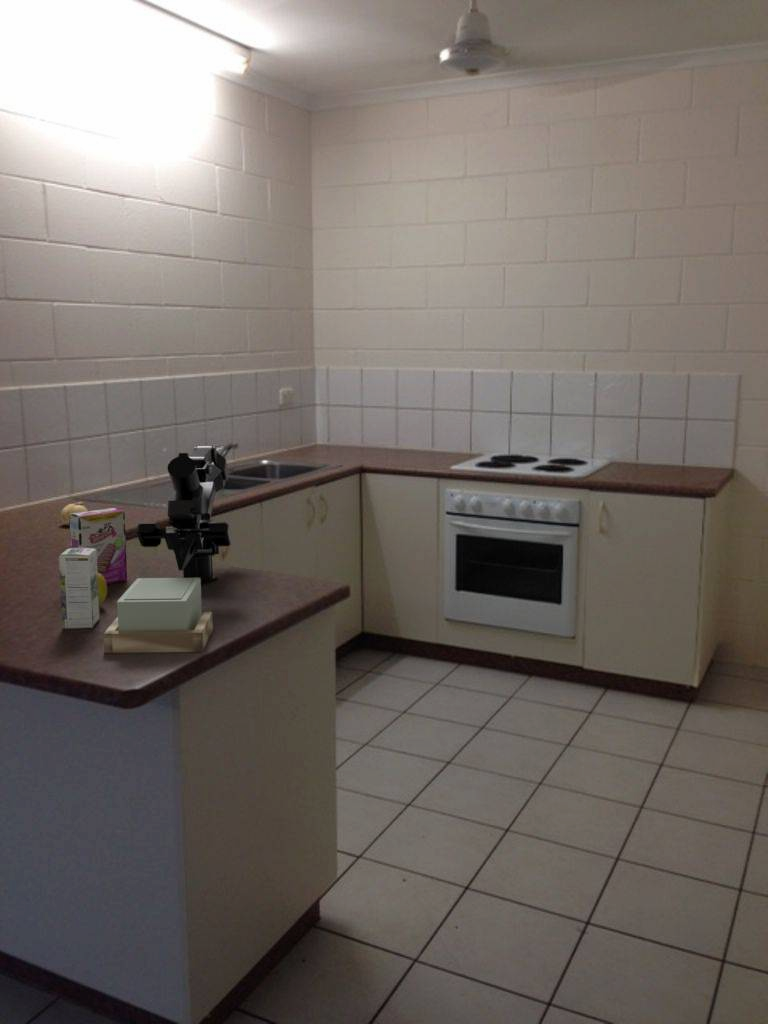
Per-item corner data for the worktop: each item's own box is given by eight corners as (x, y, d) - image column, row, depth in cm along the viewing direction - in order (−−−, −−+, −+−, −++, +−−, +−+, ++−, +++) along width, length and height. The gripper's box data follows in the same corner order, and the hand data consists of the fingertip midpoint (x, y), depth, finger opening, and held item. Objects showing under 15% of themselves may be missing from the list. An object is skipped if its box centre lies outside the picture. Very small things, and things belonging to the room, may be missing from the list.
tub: (139, 623, 178) (137, 577, 176) (202, 622, 178) (200, 576, 177) (119, 650, 162) (116, 600, 161) (188, 650, 163) (185, 599, 161)
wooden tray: (122, 630, 173) (120, 612, 172) (212, 629, 173) (212, 611, 173) (104, 653, 161) (103, 633, 160) (202, 651, 161) (201, 632, 161)
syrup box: (70, 620, 179) (65, 547, 177) (101, 619, 180) (96, 547, 177) (62, 629, 174) (57, 554, 171) (94, 628, 174) (89, 554, 172)
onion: (72, 529, 265) (71, 504, 264) (55, 526, 270) (53, 502, 268) (95, 524, 272) (94, 500, 271) (78, 521, 276) (76, 498, 275)
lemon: (111, 604, 190) (108, 566, 189) (104, 611, 185) (101, 573, 183) (84, 604, 190) (81, 566, 189) (76, 612, 185) (73, 573, 183)
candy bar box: (82, 590, 201) (78, 516, 198) (72, 585, 204) (67, 513, 201) (129, 580, 209) (125, 509, 205) (118, 576, 212) (114, 506, 209)
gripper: (135, 484, 189) (125, 548, 180) (227, 483, 189) (221, 548, 181) (146, 514, 198) (137, 577, 189) (233, 513, 198) (228, 576, 190)
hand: (180, 569), depth 187 cm, fingers closed
